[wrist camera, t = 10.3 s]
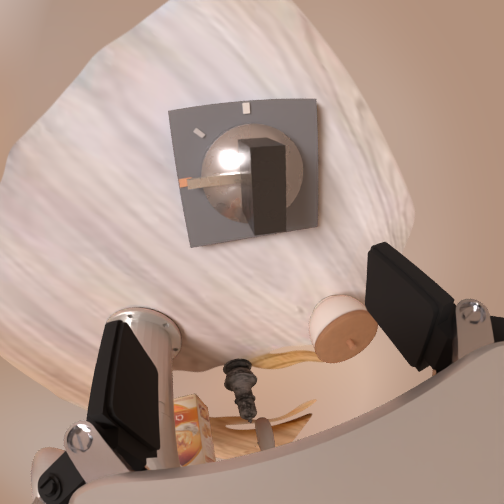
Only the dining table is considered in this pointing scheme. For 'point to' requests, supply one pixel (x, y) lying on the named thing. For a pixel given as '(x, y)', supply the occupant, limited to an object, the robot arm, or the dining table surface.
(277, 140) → the dial
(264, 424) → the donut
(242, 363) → the dark grey chess piece
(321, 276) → the dining table surface
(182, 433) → the coffeecake box
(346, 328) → the lidded jar
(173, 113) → the dial plate
